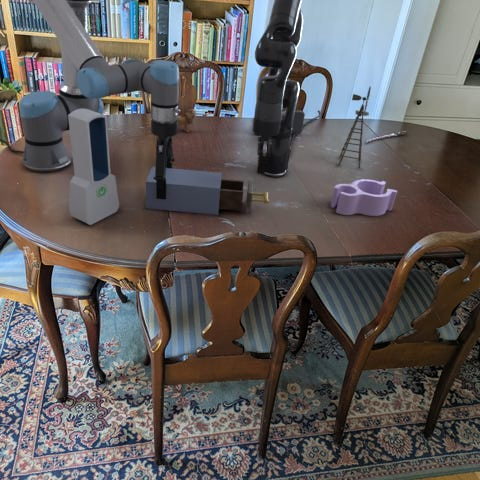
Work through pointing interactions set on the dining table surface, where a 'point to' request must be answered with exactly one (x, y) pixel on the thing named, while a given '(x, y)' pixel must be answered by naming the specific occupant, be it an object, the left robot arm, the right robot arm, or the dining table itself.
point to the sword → (384, 137)
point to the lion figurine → (187, 119)
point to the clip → (363, 198)
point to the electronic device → (91, 168)
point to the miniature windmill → (359, 113)
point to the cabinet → (186, 191)
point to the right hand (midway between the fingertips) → (260, 173)
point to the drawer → (237, 195)
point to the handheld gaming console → (297, 121)
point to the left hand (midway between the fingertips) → (164, 189)
